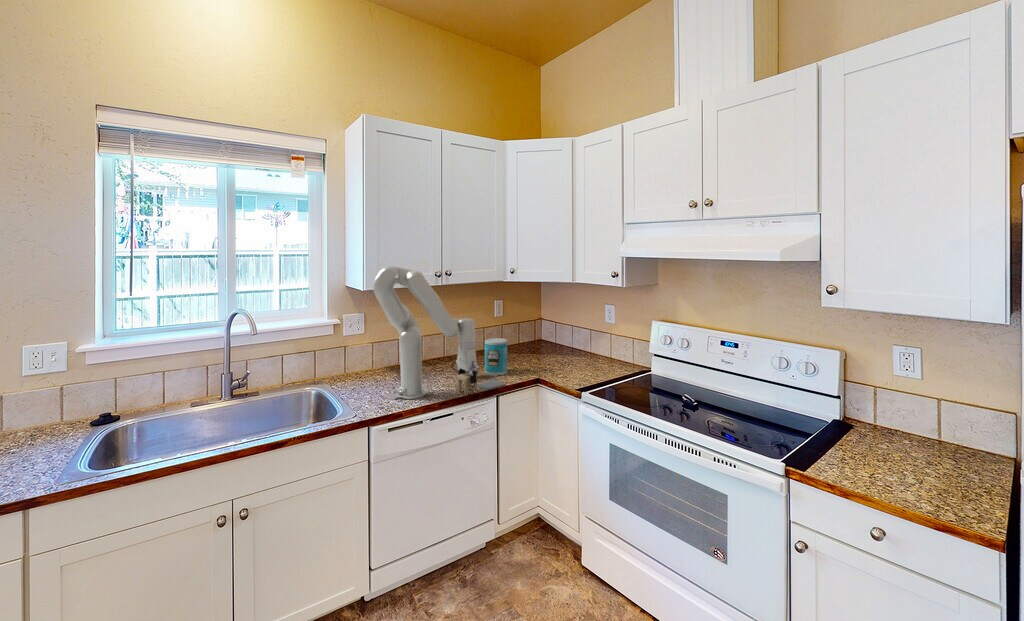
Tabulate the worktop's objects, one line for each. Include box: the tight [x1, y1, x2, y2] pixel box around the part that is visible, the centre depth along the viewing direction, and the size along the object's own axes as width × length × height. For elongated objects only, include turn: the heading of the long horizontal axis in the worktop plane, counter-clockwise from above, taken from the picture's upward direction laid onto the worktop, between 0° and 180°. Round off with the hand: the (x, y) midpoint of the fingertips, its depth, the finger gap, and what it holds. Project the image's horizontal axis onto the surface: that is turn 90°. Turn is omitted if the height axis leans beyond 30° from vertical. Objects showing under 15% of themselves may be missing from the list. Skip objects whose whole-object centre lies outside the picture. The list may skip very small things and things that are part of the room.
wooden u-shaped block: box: [457, 373, 478, 395], centre depth 210 cm, size 6×6×8 cm
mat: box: [477, 379, 507, 391], centre depth 220 cm, size 12×9×1 cm
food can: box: [484, 337, 508, 377], centre depth 241 cm, size 12×12×18 cm
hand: (467, 380), depth 210 cm, fingers open, 9 cm apart
